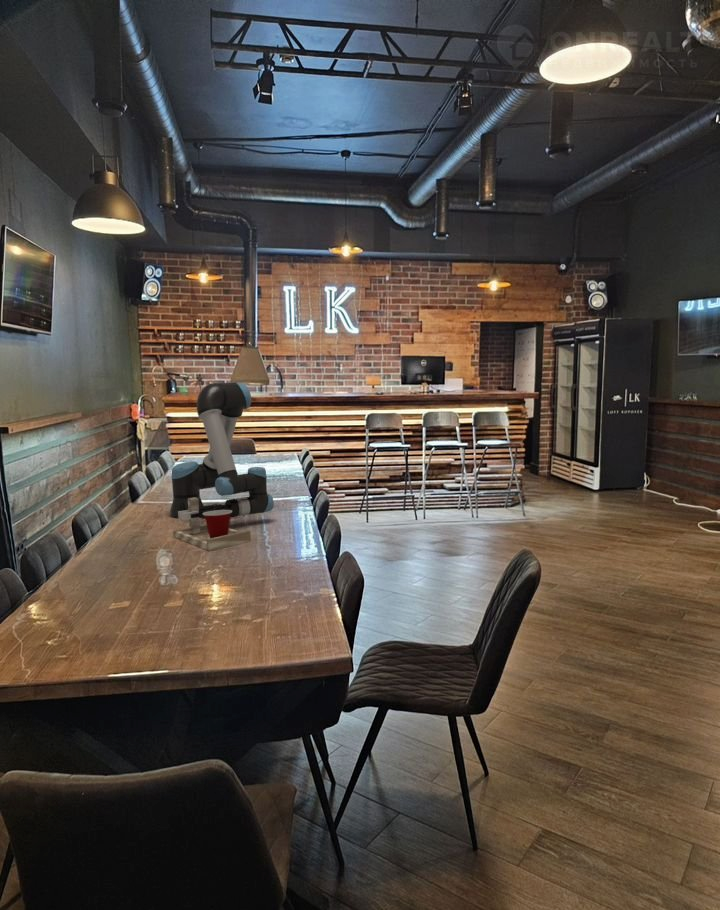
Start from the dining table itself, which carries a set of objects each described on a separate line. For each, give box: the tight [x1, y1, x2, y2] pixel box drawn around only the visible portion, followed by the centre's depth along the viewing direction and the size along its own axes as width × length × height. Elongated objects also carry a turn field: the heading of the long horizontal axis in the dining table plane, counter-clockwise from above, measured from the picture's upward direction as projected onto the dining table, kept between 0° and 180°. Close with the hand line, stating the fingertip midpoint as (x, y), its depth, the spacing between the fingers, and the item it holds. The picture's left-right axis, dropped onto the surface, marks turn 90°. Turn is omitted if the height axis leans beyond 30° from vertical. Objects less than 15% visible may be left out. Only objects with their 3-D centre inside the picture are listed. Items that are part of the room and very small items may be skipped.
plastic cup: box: [203, 510, 232, 539], centre depth 217 cm, size 11×11×12 cm
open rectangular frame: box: [173, 497, 252, 552], centre depth 222 cm, size 28×17×14 cm, turn 44°
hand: (180, 515), depth 228 cm, fingers closed on open rectangular frame, 3 cm apart
